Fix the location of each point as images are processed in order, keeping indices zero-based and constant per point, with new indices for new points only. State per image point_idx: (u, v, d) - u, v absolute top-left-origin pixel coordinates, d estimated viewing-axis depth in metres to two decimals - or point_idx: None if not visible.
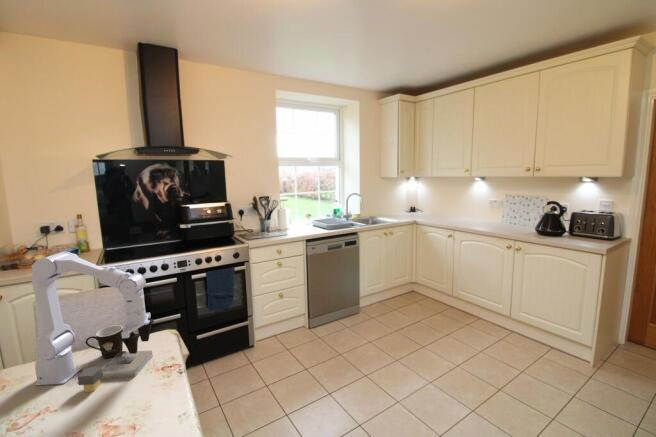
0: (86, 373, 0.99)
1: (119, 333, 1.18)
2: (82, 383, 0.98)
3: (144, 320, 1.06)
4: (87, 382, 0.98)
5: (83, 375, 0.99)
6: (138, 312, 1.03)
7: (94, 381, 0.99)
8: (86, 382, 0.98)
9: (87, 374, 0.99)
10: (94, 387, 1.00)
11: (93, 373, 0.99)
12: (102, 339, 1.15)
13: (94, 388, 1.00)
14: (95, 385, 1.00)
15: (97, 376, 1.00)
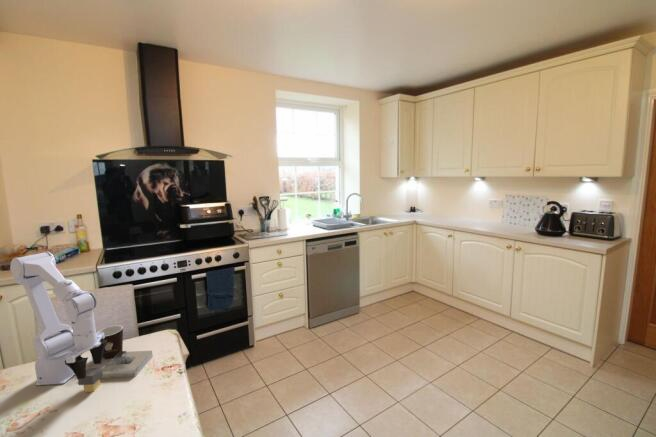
0: (86, 373, 0.99)
1: (119, 333, 1.18)
2: (82, 383, 0.98)
3: (94, 342, 0.99)
4: (87, 382, 0.98)
5: None
6: (86, 334, 0.96)
7: (94, 381, 0.99)
8: (86, 382, 0.98)
9: (87, 374, 0.99)
10: (94, 387, 1.00)
11: (93, 373, 0.99)
12: (102, 339, 1.15)
13: (94, 388, 1.00)
14: (95, 385, 1.00)
15: (97, 376, 1.00)
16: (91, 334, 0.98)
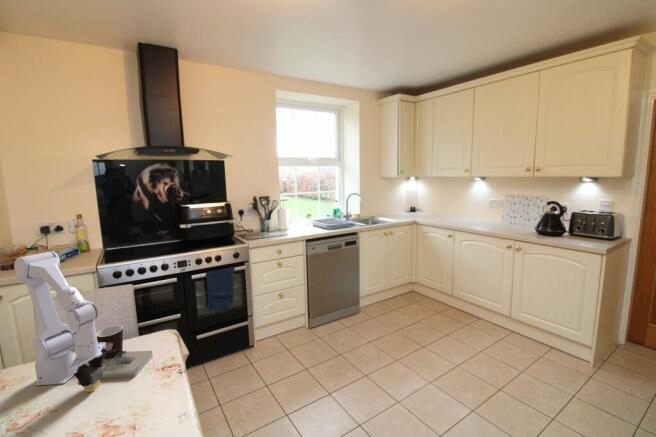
0: None
1: (119, 333, 1.18)
2: None
3: (95, 352, 0.99)
4: None
5: None
6: (88, 345, 0.97)
7: (94, 381, 0.99)
8: None
9: None
10: (94, 387, 1.00)
11: (93, 373, 0.99)
12: (102, 339, 1.15)
13: (94, 388, 1.00)
14: (95, 385, 1.00)
15: (97, 376, 1.00)
16: (92, 344, 0.98)
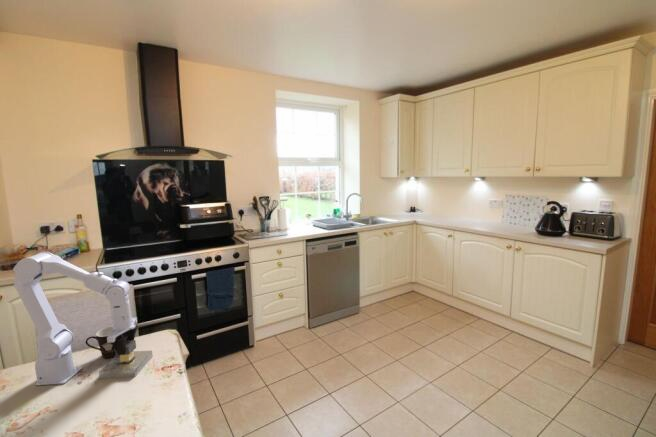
0: None
1: None
2: None
3: (130, 325, 1.10)
4: None
5: None
6: (124, 317, 1.08)
7: (129, 351, 1.10)
8: None
9: None
10: (129, 357, 1.11)
11: (128, 344, 1.10)
12: (102, 339, 1.15)
13: (129, 358, 1.11)
14: (130, 356, 1.11)
15: (132, 347, 1.11)
16: (127, 317, 1.09)
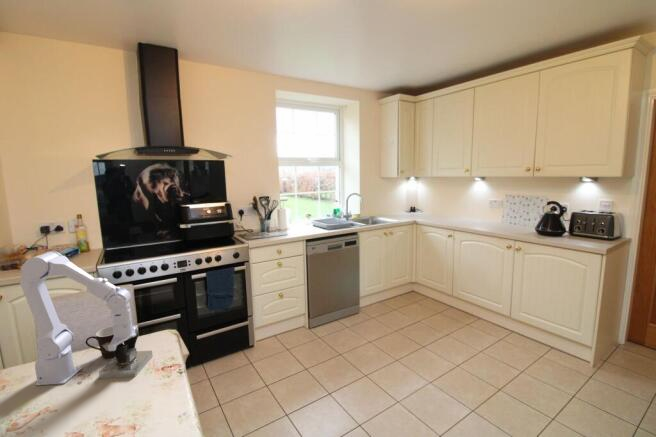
0: None
1: None
2: None
3: (131, 333, 1.10)
4: None
5: None
6: (124, 325, 1.08)
7: (130, 359, 1.10)
8: None
9: None
10: None
11: (129, 352, 1.11)
12: (102, 339, 1.15)
13: None
14: None
15: (132, 355, 1.12)
16: (128, 326, 1.09)
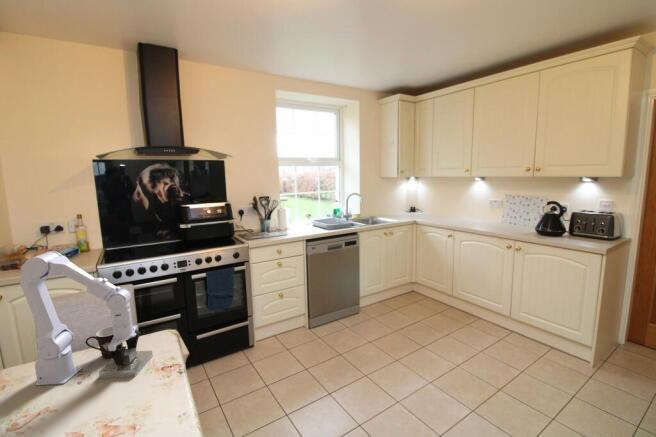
0: None
1: None
2: None
3: (131, 333, 1.10)
4: (124, 361, 1.10)
5: None
6: (125, 325, 1.08)
7: (130, 360, 1.10)
8: None
9: (124, 353, 1.10)
10: None
11: (129, 353, 1.11)
12: (102, 339, 1.15)
13: None
14: None
15: (132, 356, 1.12)
16: (128, 326, 1.09)
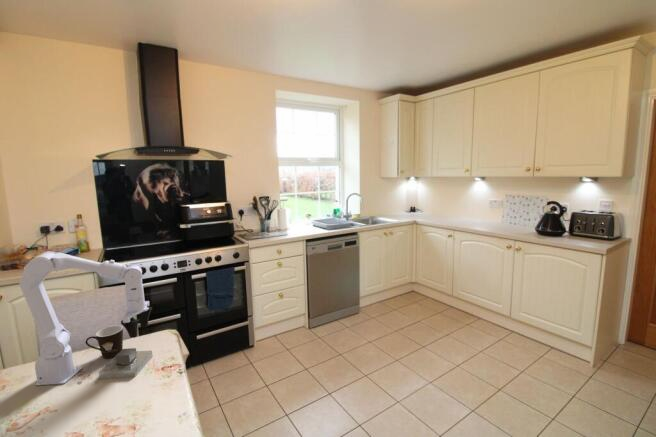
0: (122, 353, 1.10)
1: (119, 333, 1.18)
2: (120, 362, 1.09)
3: (143, 307, 1.15)
4: (124, 361, 1.10)
5: (120, 354, 1.10)
6: (138, 299, 1.13)
7: (130, 360, 1.10)
8: (123, 361, 1.09)
9: (124, 353, 1.10)
10: None
11: (129, 353, 1.11)
12: (102, 339, 1.15)
13: None
14: None
15: (132, 356, 1.12)
16: (141, 300, 1.14)
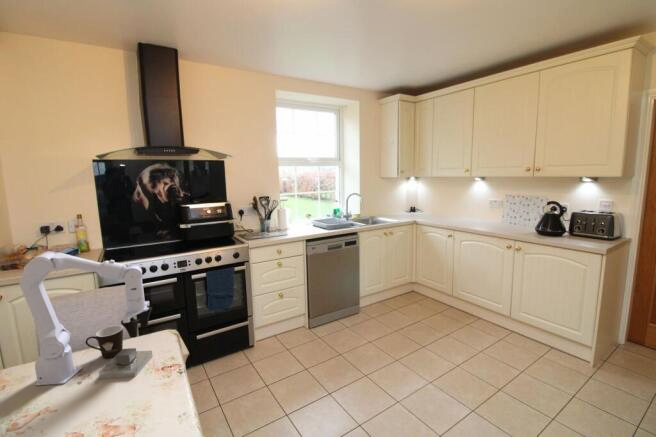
0: (122, 353, 1.10)
1: (119, 333, 1.18)
2: (120, 362, 1.09)
3: (143, 307, 1.15)
4: (124, 361, 1.10)
5: (120, 354, 1.10)
6: (138, 299, 1.13)
7: (130, 360, 1.10)
8: (123, 361, 1.09)
9: (124, 353, 1.10)
10: None
11: (129, 353, 1.11)
12: (102, 339, 1.15)
13: None
14: None
15: (132, 356, 1.12)
16: (141, 300, 1.14)
